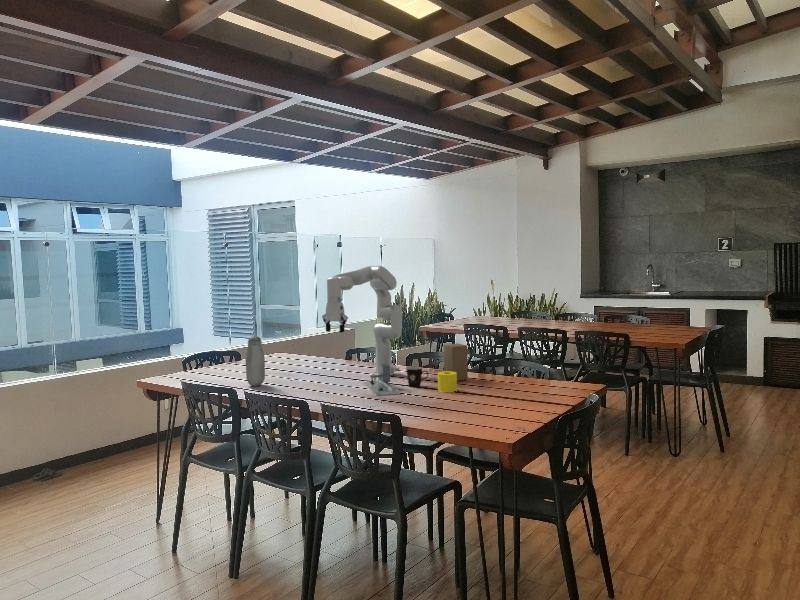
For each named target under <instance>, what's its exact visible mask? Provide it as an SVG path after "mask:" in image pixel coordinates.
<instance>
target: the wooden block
mask: <svg viewBox="0 0 800 600" xmlns="http://www.w3.org/2000/svg"><path fill="white" fill-rule="evenodd" d="M443 367H444V368H443V371H451V372H456V373H457V380H463V381H465V380H464V379H467V380H468V378H469V376H468V345H467V344H462V343H449V344H443Z"/></svg>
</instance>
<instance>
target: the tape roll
mask: <svg viewBox="0 0 800 600" xmlns="http://www.w3.org/2000/svg"><path fill="white" fill-rule="evenodd" d="M456 390H457V391H458V381H457V373H456V372H451V371H444V370H443V371H439V372H437V392H439V391H442V392H452V393H455V392H454V391H456ZM457 391H456V392H457ZM442 392H441V393H442Z"/></svg>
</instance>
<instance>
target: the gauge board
mask: <svg viewBox="0 0 800 600" xmlns="http://www.w3.org/2000/svg"><path fill="white" fill-rule="evenodd" d="M373 375H374V374H373ZM373 375H372V374H370V375H369V377H370V381H363V385H364V386H365V387H366V386H367V387H368V388H367V387H366V388H367V389H368V390H370V391H371V392H372V393H373V394H374V395H375V394H376V395H375V396H377V397H378V396H387V395H388V396H389V394H390V395H400V390H399V389H397V388H396V387H395V386H394V385H392V384H391V382H382V381H381V377H377V379H378V380H376V383H374V378H373ZM378 375H381V374H378Z"/></svg>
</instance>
